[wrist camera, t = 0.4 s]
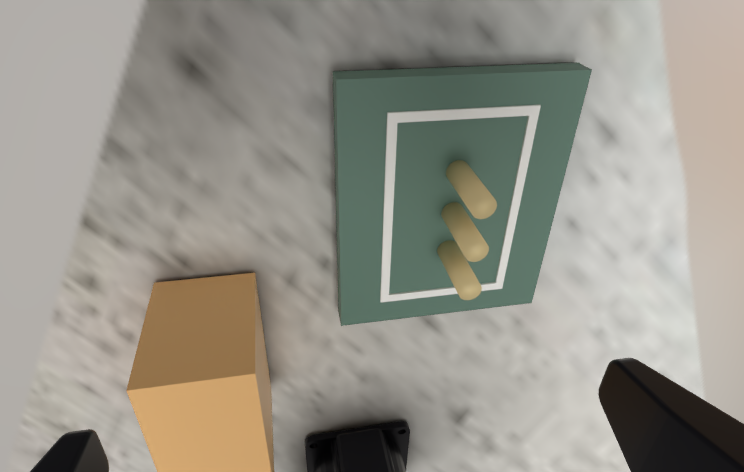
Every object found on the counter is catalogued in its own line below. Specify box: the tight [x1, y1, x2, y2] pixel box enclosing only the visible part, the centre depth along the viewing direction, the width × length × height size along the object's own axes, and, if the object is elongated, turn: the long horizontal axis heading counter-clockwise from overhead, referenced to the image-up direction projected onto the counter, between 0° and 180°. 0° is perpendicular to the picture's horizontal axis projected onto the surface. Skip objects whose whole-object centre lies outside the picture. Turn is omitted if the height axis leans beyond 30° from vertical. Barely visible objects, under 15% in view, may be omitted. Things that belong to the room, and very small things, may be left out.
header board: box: [333, 63, 592, 326], centre depth 21 cm, size 12×10×4 cm
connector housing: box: [127, 273, 274, 472], centre depth 23 cm, size 8×4×6 cm, turn 179°
